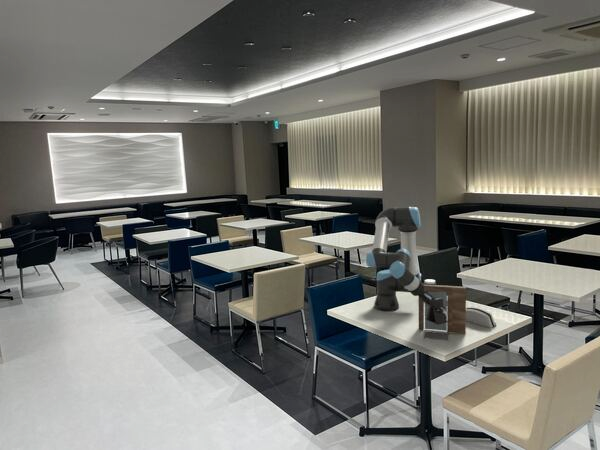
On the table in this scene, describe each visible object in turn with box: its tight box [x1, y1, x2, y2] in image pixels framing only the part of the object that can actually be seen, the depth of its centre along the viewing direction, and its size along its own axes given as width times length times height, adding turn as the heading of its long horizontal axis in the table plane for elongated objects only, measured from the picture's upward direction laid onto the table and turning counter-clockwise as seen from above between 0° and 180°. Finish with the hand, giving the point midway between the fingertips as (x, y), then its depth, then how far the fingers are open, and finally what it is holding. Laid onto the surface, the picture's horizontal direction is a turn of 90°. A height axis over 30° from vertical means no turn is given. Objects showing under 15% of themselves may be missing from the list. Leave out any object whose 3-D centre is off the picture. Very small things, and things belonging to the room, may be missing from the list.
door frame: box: [418, 284, 467, 335], centre depth 234 cm, size 2×24×24 cm, turn 70°
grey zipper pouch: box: [466, 306, 497, 329], centre depth 245 cm, size 17×5×10 cm, turn 35°
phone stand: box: [426, 297, 447, 325], centre depth 227 cm, size 9×6×12 cm, turn 25°
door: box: [424, 290, 447, 332], centre depth 234 cm, size 11×3×21 cm, turn 70°
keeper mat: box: [423, 330, 450, 341], centre depth 229 cm, size 9×12×1 cm
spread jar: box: [423, 278, 437, 291], centre depth 292 cm, size 12×11×12 cm
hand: (443, 313), depth 228 cm, fingers closed on phone stand, 3 cm apart
